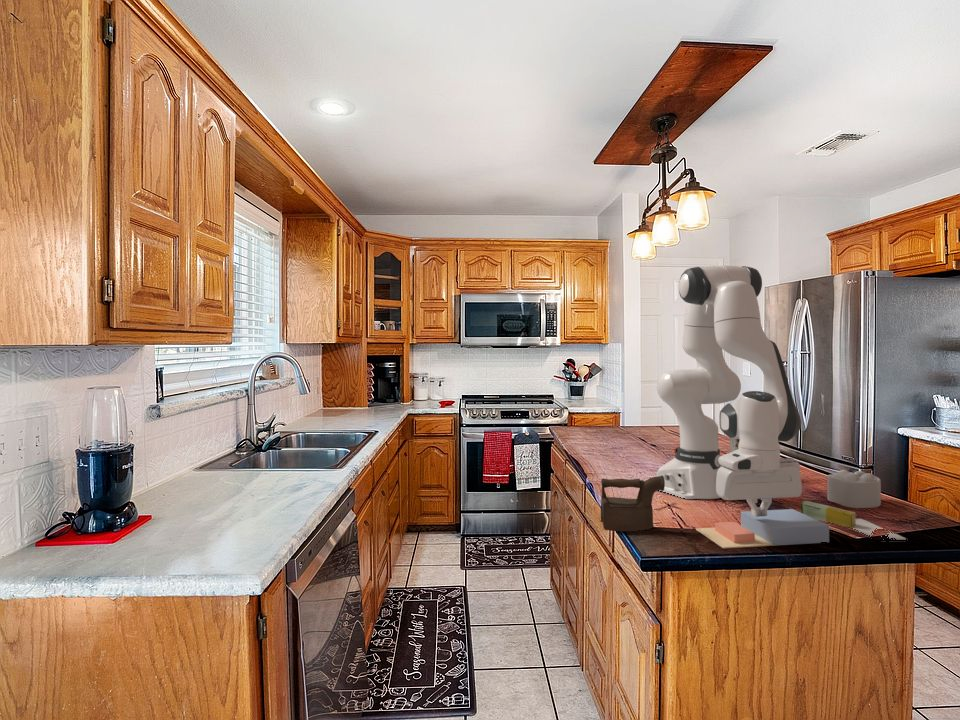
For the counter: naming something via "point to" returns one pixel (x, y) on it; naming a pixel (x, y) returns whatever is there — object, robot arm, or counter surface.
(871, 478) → the lumpy-topped squat cylinder
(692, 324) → the robot arm
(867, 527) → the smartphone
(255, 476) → the counter surface
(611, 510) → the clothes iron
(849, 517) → the medication box
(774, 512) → the grey flat block
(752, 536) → the salmon pink block
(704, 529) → the mat
